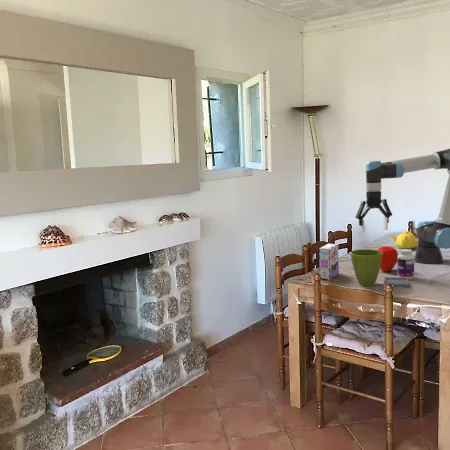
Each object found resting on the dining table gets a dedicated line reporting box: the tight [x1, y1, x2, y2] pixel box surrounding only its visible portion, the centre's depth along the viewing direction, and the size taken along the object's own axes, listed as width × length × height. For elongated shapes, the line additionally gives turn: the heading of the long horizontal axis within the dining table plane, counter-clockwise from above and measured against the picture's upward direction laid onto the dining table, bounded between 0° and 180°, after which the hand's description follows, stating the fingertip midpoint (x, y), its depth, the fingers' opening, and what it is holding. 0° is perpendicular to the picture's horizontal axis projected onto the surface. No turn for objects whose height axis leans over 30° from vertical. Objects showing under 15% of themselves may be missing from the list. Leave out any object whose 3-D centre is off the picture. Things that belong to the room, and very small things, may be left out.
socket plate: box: [383, 276, 410, 289], centre depth 246 cm, size 11×11×2 cm
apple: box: [377, 246, 399, 272], centre depth 271 cm, size 12×12×13 cm
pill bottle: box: [396, 248, 415, 280], centre depth 255 cm, size 8×8×14 cm
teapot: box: [390, 230, 418, 250], centre depth 324 cm, size 20×18×11 cm
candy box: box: [318, 243, 340, 281], centre depth 265 cm, size 14×6×16 cm, turn 148°
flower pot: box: [350, 248, 382, 287], centre depth 248 cm, size 15×15×16 cm
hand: (374, 230), depth 268 cm, fingers open, 13 cm apart
